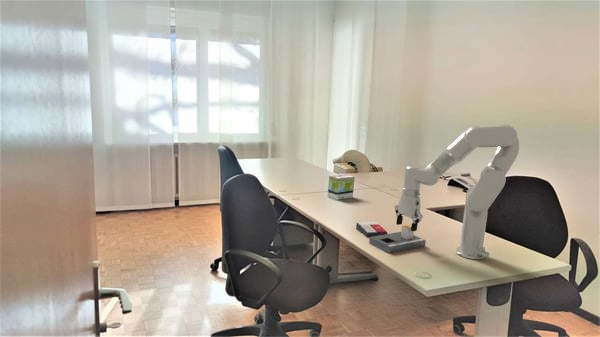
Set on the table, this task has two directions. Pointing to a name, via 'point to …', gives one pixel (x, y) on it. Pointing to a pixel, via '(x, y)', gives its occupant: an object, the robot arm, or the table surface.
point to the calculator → (370, 229)
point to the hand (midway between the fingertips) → (406, 227)
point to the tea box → (341, 186)
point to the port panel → (396, 242)
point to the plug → (407, 232)
